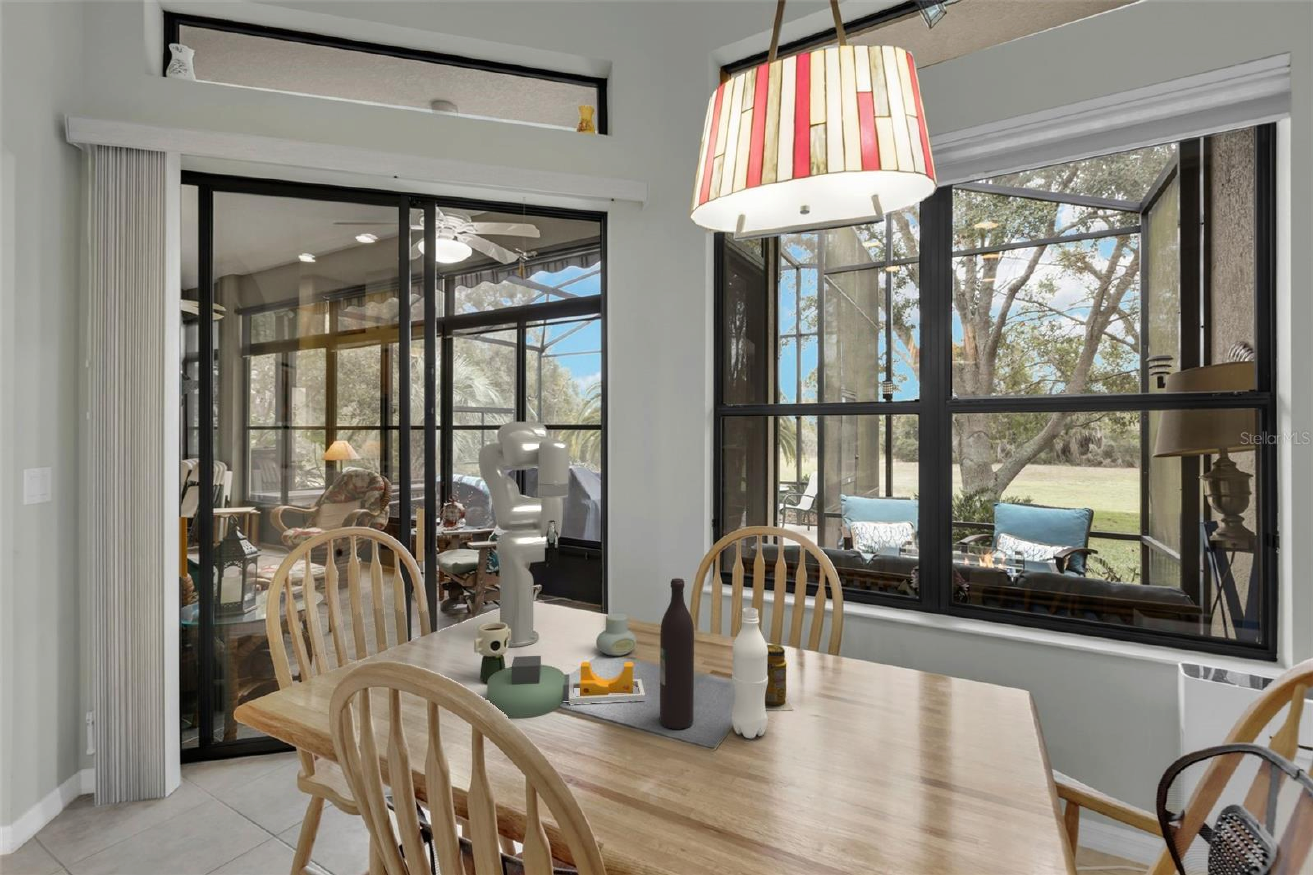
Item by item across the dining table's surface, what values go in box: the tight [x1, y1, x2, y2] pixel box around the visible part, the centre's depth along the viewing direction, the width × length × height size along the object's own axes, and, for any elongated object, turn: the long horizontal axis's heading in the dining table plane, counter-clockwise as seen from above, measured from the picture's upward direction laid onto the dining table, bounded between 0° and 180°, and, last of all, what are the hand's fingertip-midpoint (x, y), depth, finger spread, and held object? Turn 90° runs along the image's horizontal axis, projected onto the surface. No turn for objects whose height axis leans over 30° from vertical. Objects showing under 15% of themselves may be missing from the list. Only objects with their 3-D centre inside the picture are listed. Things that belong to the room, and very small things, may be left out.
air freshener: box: [595, 612, 637, 657], centre depth 171 cm, size 11×8×10 cm
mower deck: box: [486, 655, 646, 719], centre depth 142 cm, size 17×35×9 cm, turn 97°
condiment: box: [765, 644, 794, 712], centre depth 141 cm, size 7×8×12 cm
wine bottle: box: [659, 577, 695, 730], centre depth 131 cm, size 7×7×30 cm
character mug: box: [473, 621, 511, 683], centre depth 153 cm, size 11×7×13 cm, turn 143°
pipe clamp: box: [579, 661, 634, 696], centre depth 144 cm, size 12×4×6 cm, turn 90°
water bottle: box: [731, 607, 769, 739], centre depth 127 cm, size 7×7×25 cm
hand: (551, 558), depth 156 cm, fingers open, 9 cm apart
